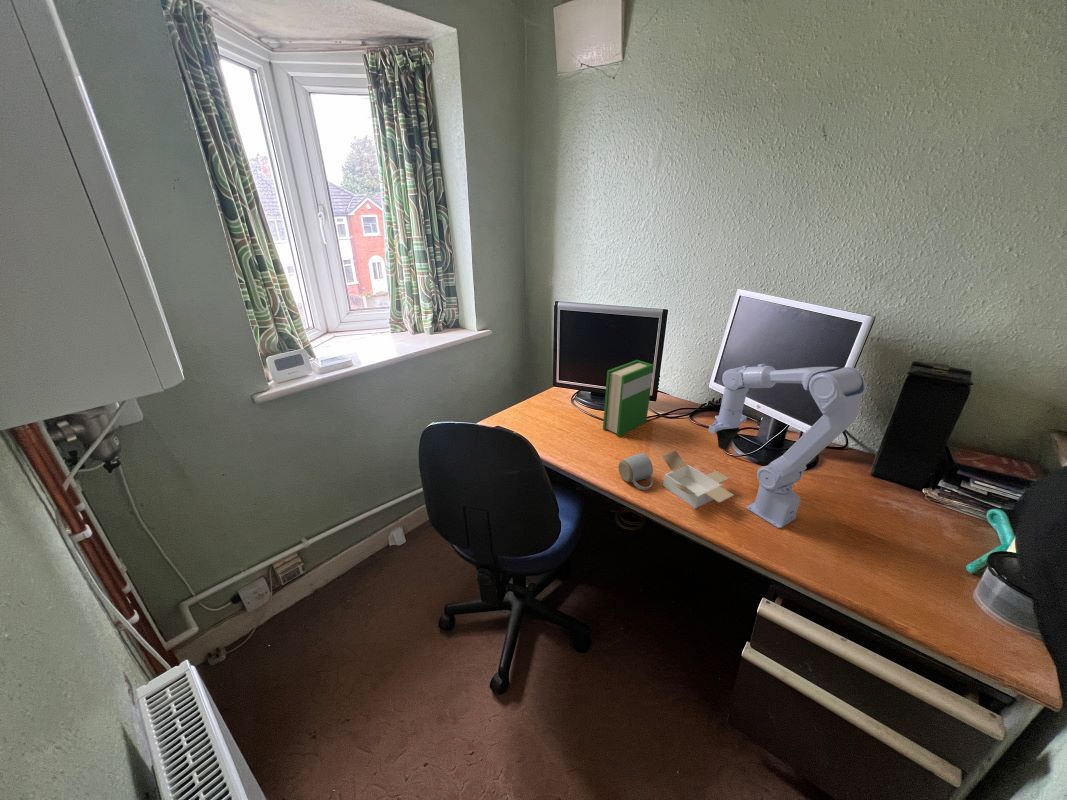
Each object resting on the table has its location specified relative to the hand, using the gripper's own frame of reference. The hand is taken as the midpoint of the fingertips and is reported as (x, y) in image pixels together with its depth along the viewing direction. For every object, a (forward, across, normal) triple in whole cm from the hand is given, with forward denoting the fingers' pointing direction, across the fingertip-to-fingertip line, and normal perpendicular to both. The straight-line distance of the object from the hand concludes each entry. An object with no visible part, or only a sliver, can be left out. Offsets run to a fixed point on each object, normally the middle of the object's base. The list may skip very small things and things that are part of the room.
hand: (722, 447), depth 121 cm
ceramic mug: (+11, +22, -11) cm, 27 cm away
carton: (+10, +11, +3) cm, 15 cm away
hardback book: (+11, +2, -40) cm, 41 cm away
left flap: (+5, +20, +4) cm, 21 cm away
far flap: (+4, +12, -7) cm, 15 cm away
